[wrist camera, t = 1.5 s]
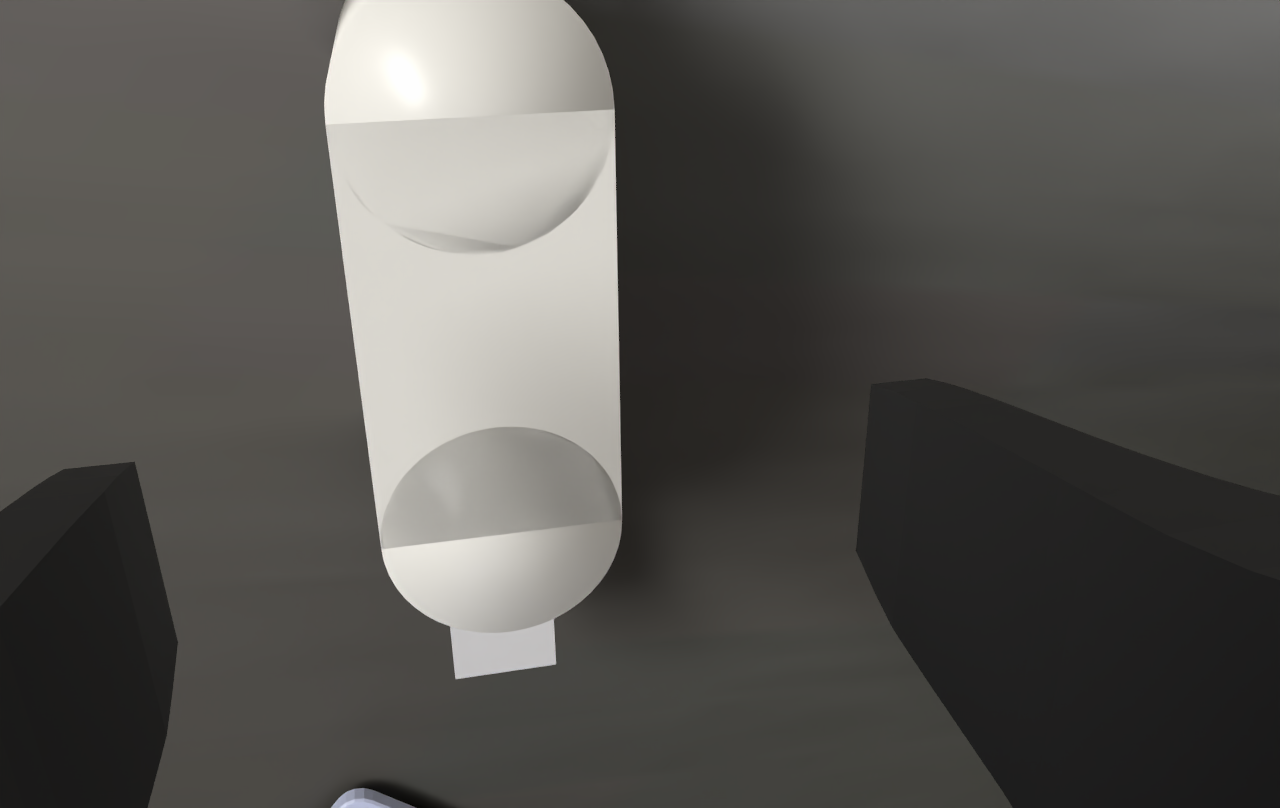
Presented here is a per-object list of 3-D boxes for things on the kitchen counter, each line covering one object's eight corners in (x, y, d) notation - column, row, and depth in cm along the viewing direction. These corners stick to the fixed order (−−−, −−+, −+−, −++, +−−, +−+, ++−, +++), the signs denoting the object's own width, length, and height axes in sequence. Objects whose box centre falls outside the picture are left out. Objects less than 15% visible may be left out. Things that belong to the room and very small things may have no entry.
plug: (308, -168, 16) (285, -179, 12) (547, -169, 17) (608, -180, 12) (402, 592, 22) (410, 773, 18) (576, 570, 23) (626, 738, 18)
